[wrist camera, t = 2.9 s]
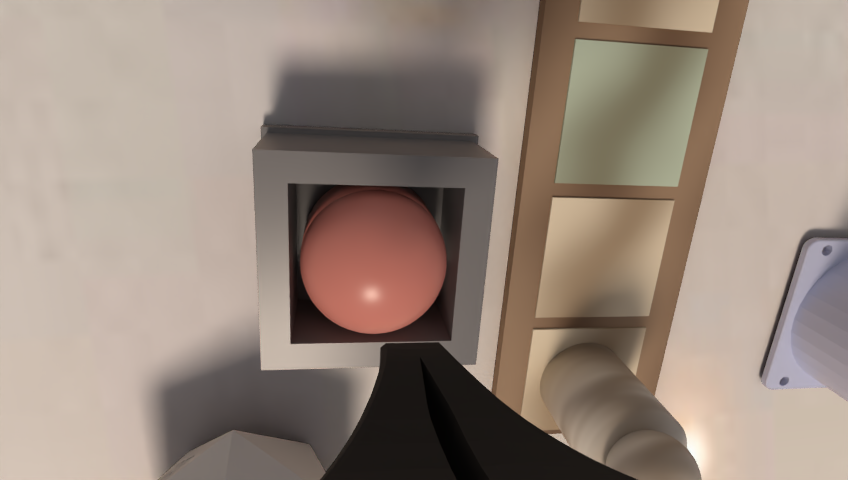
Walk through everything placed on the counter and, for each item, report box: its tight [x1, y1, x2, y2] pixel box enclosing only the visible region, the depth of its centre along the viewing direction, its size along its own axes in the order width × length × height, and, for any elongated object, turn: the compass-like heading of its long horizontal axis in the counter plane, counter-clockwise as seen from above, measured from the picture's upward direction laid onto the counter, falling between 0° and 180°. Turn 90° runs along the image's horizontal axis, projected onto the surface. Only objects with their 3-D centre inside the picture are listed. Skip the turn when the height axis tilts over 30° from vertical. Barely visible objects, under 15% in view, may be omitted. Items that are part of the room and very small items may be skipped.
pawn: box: [540, 343, 702, 480], centre depth 21 cm, size 4×4×8 cm
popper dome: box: [300, 185, 447, 334], centre depth 18 cm, size 5×5×5 cm
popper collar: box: [252, 125, 498, 370], centre depth 20 cm, size 8×8×4 cm
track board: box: [492, 0, 749, 434], centre depth 22 cm, size 8×24×1 cm, turn 176°
